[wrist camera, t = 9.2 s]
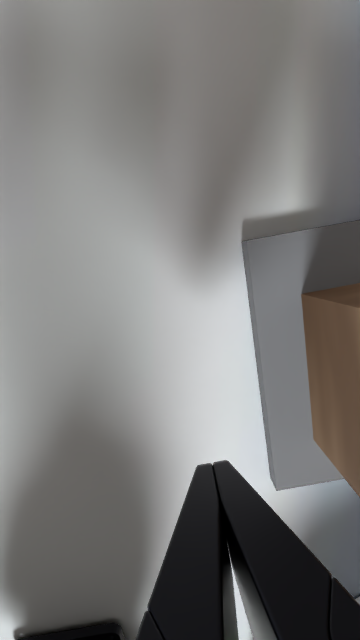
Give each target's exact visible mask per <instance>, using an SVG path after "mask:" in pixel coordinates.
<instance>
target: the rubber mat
mask: <svg viewBox="0 0 360 640" xmlns="http://www.w3.org/2000/svg"><path fill="white" fill-rule="evenodd" d="M242 249H243V257H244V265H245V273H246V281H247V289H248V298H249V306H250V314H251V322H252V330H253V338H254V346H255V355H256V363H257V371H258V379H259V387H260V395H261V403H262V412H263V420H264V428H265V436H266V444H267V452H268V460H269V469H270V477H271V480H272V482H273V484H274V486H275V488H276V491H279V490H284V489H290V488H295V487H301V486H307V485H312V484H318V483H324V482H329V481H335V480H341V479H345V478H344V477H343V476H342V475H341V473H340V472H339V471H338V470H337V468H336V467H335V466H334V465H333V463H332V462H331V461H330V460H329V458H328V457H327V456H326V455H325V453H324V452H323V451H322V450H321V448H320V447H319V446H318V445H317V443H316V442H315V441H314V439H313V428H312V416H311V404H310V392H309V381H308V369H307V357H306V345H305V334H304V322H303V310H302V298H301V294H304V293H309V292H314V291H320V290H325V289H330V288H336V287H341V286H346V285H352V284H357V283H360V220H356V221H351V222H345V223H340V224H334V225H329V226H324V227H318V228H313V229H307V230H302V231H296V232H291V233H285V234H280V235H274V236H269V237H264V238H258V239H253V240H247V241H244V242H242Z"/></svg>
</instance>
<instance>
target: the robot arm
mask: <svg viewBox="0 0 360 640" xmlns="http://www.w3.org/2000/svg"><path fill="white" fill-rule="evenodd" d="M228 549H229V550H228ZM229 554H230V556H229ZM230 558H231V561H230ZM231 563H232V567H233V571H234V574H235V578H236V581H237V585H238V588H239V592H240V595H241V598H242V602H243V605H244V608H245V612H246V615H247V618H248V622H249V625H250V629H251V632H252V635H253V639H254V640H360V604H359V603H358V602H357V601H356V600H355V599H354V598H353V597H352V596H351V595H350V594H349V592H348V591H347V590H346V589H345V588H344V587H343V586H342V585H341V584H340V583H339V581H338V580H337V579H336V578H332V575H331V573H330V572H329V571H328V570H327V569H326V568H325V566H324V565H323V564H322V563H321V562H320V561H319V560H318V559H317V558H316V557H315V555H314V554H313V553H312V552H311V551H310V550H309V549H308V548H307V547H306V546H305V545H304V543H303V542H302V541H301V540H300V539H299V538H298V537H297V536H296V535H295V534H294V532H293V531H292V530H291V529H290V528H289V527H288V526H287V525H286V524H285V523H284V522H283V520H282V519H281V518H280V517H279V516H278V515H277V514H276V513H275V512H274V511H273V509H272V508H271V507H270V506H269V505H268V504H267V503H266V502H265V501H264V500H263V499H262V497H261V496H260V495H259V494H258V493H257V492H256V491H255V490H254V489H253V488H252V486H251V485H250V484H249V483H248V482H247V481H246V480H245V479H244V478H243V477H242V476H241V474H240V473H239V472H238V471H237V470H236V469H235V468H234V467H233V466H232V465H231V464H230V462H229V461H227V460H224V461H218V462H214V463H213V466H212V464H211V463H207V464H201V465H198V466H197V467H196V470H195V472H194V475H193V478H192V481H191V484H190V487H189V489H188V492H187V495H186V498H185V501H184V504H183V506H182V509H181V512H180V515H179V518H178V521H177V524H176V526H175V529H174V532H173V535H172V538H171V541H170V543H169V546H168V549H167V552H166V555H165V558H164V560H163V563H162V566H161V569H160V572H159V575H158V577H157V580H156V583H155V586H154V589H153V592H152V595H151V597H150V600H149V603H148V606H147V608H148V611H146V612H145V614H144V617H143V620H142V622H141V625H140V628H139V631H138V634H137V637H136V639H135V640H239V638H238V628H237V618H236V607H235V597H234V586H233V577H232V568H231ZM18 640H125V638H124V635H123V631H122V628H121V626H120V625H118V624H116V623H109V624H104V625H98V626H92V627H87V628H81V629H75V630H69V631H64V632H58V633H52V634H47V635H41V636H35V637H29V638H24V639H18Z"/></svg>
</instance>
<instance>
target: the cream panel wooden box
mask: <svg viewBox="0 0 360 640" xmlns="http://www.w3.org/2000/svg"><path fill="white" fill-rule="evenodd" d="M301 298H302V310H303V322H304V334H305V345H306V357H307V369H308V381H309V392H310V404H311V416H312V428H313V439H314V441H315V442H316V443H317V445H318V446H319V447H320V448H321V450H322V451H323V452H324V453H325V455H326V456H327V457H328V458H329V460H330V461H331V462H332V463H333V465H334V466H335V467H336V468H337V470H338V471H339V472H340V473H341V475H342V476H343V477H344V478H345V480H346V481H347V482H348V483H349V485H350V486H351V487H352V488H353V490H354V491H355V492H356V493H357V495H358V496H359V497H360V283H357V284H352V285H346V286H341V287H336V288H330V289H325V290H320V291H314V292H309V293H304V294H301Z"/></svg>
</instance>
